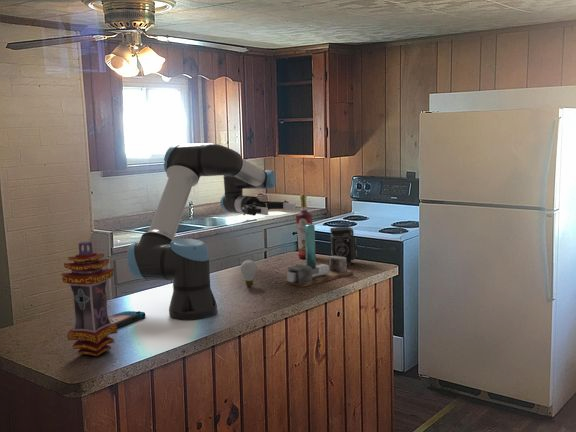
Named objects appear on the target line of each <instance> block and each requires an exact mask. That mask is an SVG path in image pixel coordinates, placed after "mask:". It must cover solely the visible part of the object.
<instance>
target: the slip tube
mask: <svg viewBox="0 0 576 432" xmlns="http://www.w3.org/2000/svg"><path fill="white" fill-rule="evenodd" d="M315 228H316V226H315V224H313V223H312V224H309V225H305V245H306V259H305V264H306V265H305V266H310V267H312V277H316V276H320V275H324V274H328V273H329V270H330V267H329V264H325V263H322V264H317V261H316V260H317V257H316V231H315ZM286 280H287V281H290V282H296V281H298V271H290V272H288V271H287V272H286ZM287 281H286V282H287Z"/></svg>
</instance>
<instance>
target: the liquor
mask: <svg viewBox="0 0 576 432" xmlns="http://www.w3.org/2000/svg"><path fill="white" fill-rule="evenodd" d="M299 196H300V212H298V213H296V214H295V223H296V224H295V225H296V234H297V235H296V236H297V248H298V254H297V256H298V258H300V259H303V260H304V259H305V260H306V245H305V225H309V224H312V225H313V214H312V213H311V212H309V211H308V205H307V193H305V194H304V193H302V194H300V195H299Z"/></svg>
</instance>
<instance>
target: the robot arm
mask: <svg viewBox="0 0 576 432" xmlns="http://www.w3.org/2000/svg"><path fill="white" fill-rule="evenodd" d="M163 161H164V163H163V168H164V171H165V173H166V177H167V178H168V179H167V181H166V185H165V187H164V190H163V192H162V194H161V197H160V200H159V202H158V205H157V208H156V211H155V213H154V216H153V218H152V222H151V224H150V226H149V229H148V231H145V232H143V233H142V235H141V237H140V239H139V242H133V243H132V244H130V245H129V247H128V249H127V253H126V263H127V267H128V271H129V272H130V274H131V275H132V276H133V277H134V279H139V280H141V279H142V280H146V281H148V280H150V281H151V280H152V281H153V280H154V281H155V280H156V281H157V280H158V281H172V289H173V290H172V291H173V292H172V295H171V300H170V302H169V303H170V304H169V307H168V311H169V312H168V315H169V317H170V318H172V319H175V320H180V321H181V320H183V321H184V320H187V321H188V320H189V321H193V320H199V319H200V320H201V319H206V318H209V317H212V316H214V315H216V314H217V313H218V304H217V301H216V299H215V296H214V293H213V291H212V289H211V275H210V254H209V248H208V245H207V244H206V243H205V242H204V241H203V240H199V239H194V238H175V236H176V233H177V231H178V227H179V225H180V222H181V220H182V217H183V214H184V211H185V207H186V205H187V202H188V200H189V196H190V193H191V190H192V187H195V186H197V184H198V183H199V180H200V178H201V177H214V176H215V177H216V176H217V177H218V176H223V187H224V194H223V195H222V196H221V198H220V203H219V205H220V207H221V209H222V210H224V211H225V212H228V213H232V214H233V213H235V214H242V215H243V216H246V215H249V216H254V217H255V216H256V215H263V216H264V215H265V216H268V215H269V210H281V209H283V210H285V211H287V210H288V211H296V203H292V202H289V201H287V200H285V199H284V200H283V201H269V200H267V201H264V200H260V199H259V198H258V197H257V196H252V195H245V194H244V192H243V190H244V189H248V190H249V189H250V190H251V189H255V190H256V189H261V190H262V189H263V190H264V189H265V190H267V189H273V188H275V187H276V184H277V175H276V172H275V171H274V169H273V170H272V169H270V170H269V169H266V170H265V169H262V168H260V167H258V166H257V165H254V164H253V163H252V162H250V161H247V160H246V159H244V158H243V157H242V155H241V153H239V152H238V151H235V150H234V149H232V148H230V147H227V146H224V145H221V144H218V143H214V142H213V143H212V142H207V143H206V142H205V143H203V142H202V143H201V142H200V143H179V144H178V143H177V144H173V145H171V146H170V147H168V148H167V150H166V152H165V155H164V158H163ZM243 194H244V195H243Z"/></svg>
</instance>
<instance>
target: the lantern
mask: <svg viewBox="0 0 576 432" xmlns="http://www.w3.org/2000/svg"><path fill="white" fill-rule="evenodd" d="M82 247H83V249H82ZM88 247H89V250H88ZM104 257H105V253H97V252H93V242H92V241H81V242H79V243H78V253H77V254H76V255H74V256H68V257H67V258H68V260H69V261H72V262H63V267H64V268H65V269H68V270H71V272H64V273H61V277H62V283H65V284H68V285H69V287H70V290H71V292H72V301H73V310H74V311H73V312H74V323H73V328H72V329H70V330H69V331H68V332H67V342H69V341H74V340H75V342H74V343H73V344H72V349H73V350H78V351H77V355H86V356H92V357H99V356H100V355H101V354H102V353H105V352H107V351H109V350H111V349H112V346H110V345H109V344H114V343H115V339H114V338H113V337H111V336H109V335H116V334H118V328H117V325H116V324H112V323H111V322H110V320H109V313H108V294H107V289H106V288H107V282H108V279H110V278H112V277H113V275H114V268H104V269H103V267H105V266H107V265H108V264H109V263H110V259H109V258H104ZM102 258H104V259H102Z"/></svg>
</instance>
